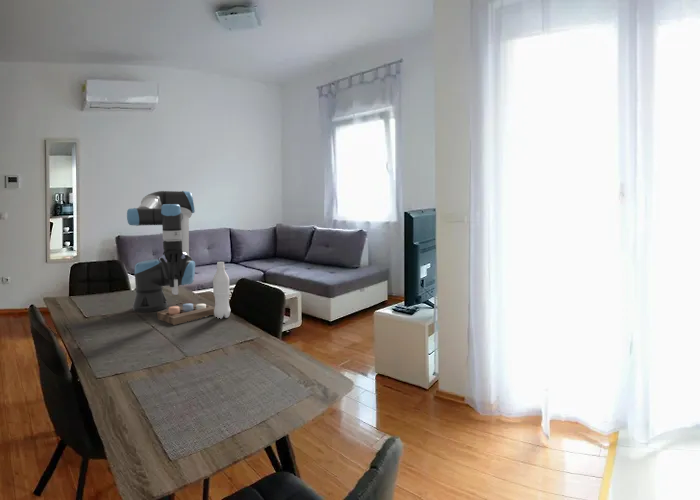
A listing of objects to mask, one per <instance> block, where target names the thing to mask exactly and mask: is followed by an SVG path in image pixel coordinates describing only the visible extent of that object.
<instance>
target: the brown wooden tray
mask: <svg viewBox="0 0 700 500" xmlns="http://www.w3.org/2000/svg"><path fill="white" fill-rule="evenodd" d="M197 304H203V302H200V303H199V302H198V303H195V304H194V303H193V311H190V312H183V306H179V309H180V314H176V315H172V316H171V315H169V309H166V310H160V311H156V313H157V314H156V315H157V320H160V321H162V322H165V323H168V324H171V325H173V326H176V325H178V324H183V323H187V321H188V322H191V320H192V321H195V320H194V319H196V320H199V319H198V318H200V319H203V318H202V317H205V316H209V315H213V314H214V309H215V306H212V305H209V304H206V308H203V309H196V305H197ZM213 316H214V315H213ZM209 317H210V316H209ZM205 318H206V317H205Z"/></svg>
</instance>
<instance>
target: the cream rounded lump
mask: <svg viewBox="0 0 700 500" xmlns="http://www.w3.org/2000/svg"><path fill="white" fill-rule="evenodd" d="M196 304H197V305H196V309H203V308H206V305H207V304H206V303H202V304H198V303H196Z"/></svg>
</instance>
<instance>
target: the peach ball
mask: <svg viewBox="0 0 700 500" xmlns="http://www.w3.org/2000/svg"><path fill="white" fill-rule="evenodd" d="M179 307H180V306H178V305H173V306H169V307H167V308H168V309H167V310H169V315H171V316H172V315H176V314H180V309H179Z"/></svg>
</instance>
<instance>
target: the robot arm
mask: <svg viewBox="0 0 700 500" xmlns="http://www.w3.org/2000/svg"><path fill="white" fill-rule="evenodd" d="M195 210H196V209H195V205H194V196H193V194H192V192H190V191H184V190H182V191H179V190H177V191H176V190H175V191H173V190H171V191H170V190H160V191H159V190H158V191H154V192H151V193H148V194H146V195H145V196H144V197H143V198H142V199H141V202H140V205H139V206H138V207H134V208H128V209H127V210H126V211H127V212H126V221H127V225H129V226H136V227H138V226H162V240H163V242H162V245H163V246H162V247H163V253H162V255H161V256H160V257H158V258H154V259H149V260H148V259H147V260H142V261H139V262H137V263H136V264H135V265H134V273H133V274H134V282H135V283H134V284H135V296H134V299H133V303H132V311H133V312H136V313H150V312H151V313H152V312H159V311H163V310H164V309H166V308H168V301H167V298H166V296H165V293H164V291H163V290H164V289H163V287H170V288H171V295H175V296H176V295H179V287H180V286H185V285H187V286H189V285H191V284H193V283H194V279H195V274H196V262H195V261H194V260H193V258H192V256H190V238H189V237H190V226H189V225H190V224H189V223H190V218H191V217H192V215H193V214H195V212H196V211H195Z"/></svg>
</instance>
